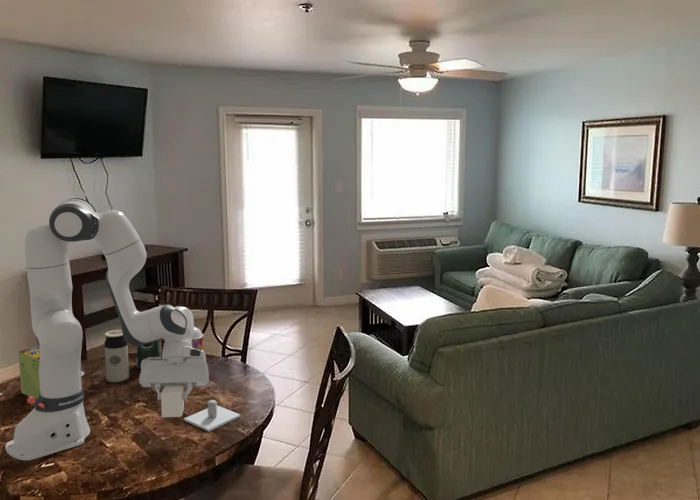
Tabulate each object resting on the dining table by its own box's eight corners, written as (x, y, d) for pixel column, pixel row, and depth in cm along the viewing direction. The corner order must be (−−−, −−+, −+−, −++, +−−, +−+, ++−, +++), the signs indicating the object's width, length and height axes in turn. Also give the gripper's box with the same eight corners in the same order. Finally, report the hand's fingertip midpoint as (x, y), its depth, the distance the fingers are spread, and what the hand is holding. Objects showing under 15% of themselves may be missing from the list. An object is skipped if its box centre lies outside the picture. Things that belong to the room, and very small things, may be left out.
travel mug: (112, 374, 223) (109, 329, 220) (132, 374, 223) (130, 329, 220) (102, 382, 215) (100, 335, 212) (123, 383, 215) (121, 336, 212)
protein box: (44, 404, 197) (41, 360, 194) (20, 393, 205) (17, 351, 202) (73, 393, 205) (70, 351, 203) (49, 383, 214) (46, 343, 211)
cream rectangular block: (181, 416, 171) (181, 392, 170) (161, 417, 170) (161, 393, 169) (183, 408, 177) (183, 385, 175) (164, 409, 176) (164, 385, 175)
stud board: (208, 431, 179) (208, 414, 178) (184, 420, 186) (183, 403, 185) (240, 416, 189) (240, 400, 188) (215, 406, 196) (215, 390, 195)
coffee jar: (163, 362, 237) (161, 318, 234) (160, 369, 229) (159, 323, 226) (138, 363, 235) (136, 319, 232) (135, 370, 227) (132, 325, 224)
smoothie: (198, 363, 236) (197, 316, 233) (207, 369, 229) (206, 320, 226) (178, 368, 231) (177, 319, 227) (187, 374, 224) (186, 324, 221)
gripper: (140, 352, 176) (134, 396, 168) (209, 351, 179) (206, 394, 171) (143, 361, 181) (137, 404, 173) (210, 360, 184) (207, 402, 176)
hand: (172, 399), depth 172 cm, fingers closed on cream rectangular block, 6 cm apart
